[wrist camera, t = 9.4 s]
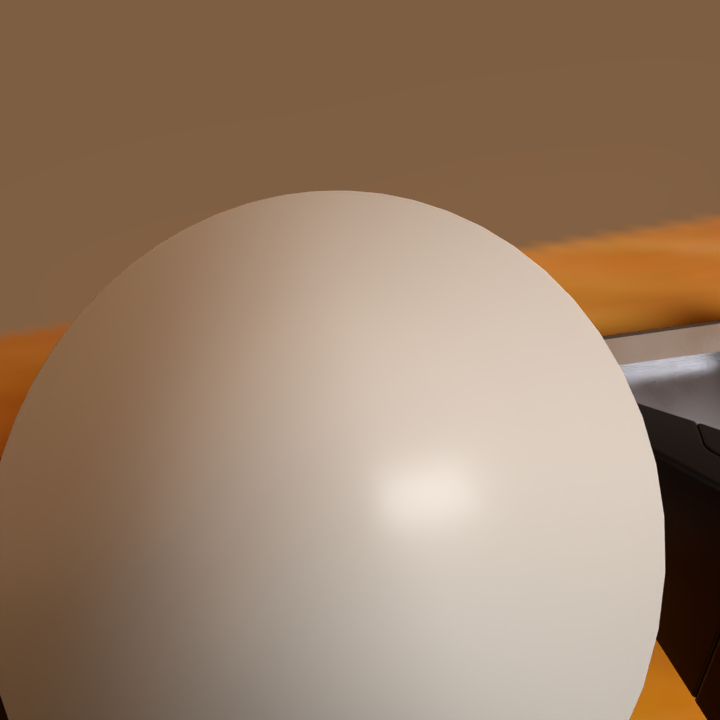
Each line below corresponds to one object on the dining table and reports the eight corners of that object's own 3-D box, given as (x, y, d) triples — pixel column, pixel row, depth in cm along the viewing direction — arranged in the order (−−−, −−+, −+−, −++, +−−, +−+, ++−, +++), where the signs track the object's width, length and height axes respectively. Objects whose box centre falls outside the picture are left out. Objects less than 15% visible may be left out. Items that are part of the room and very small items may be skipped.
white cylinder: (438, 406, 15) (544, 147, 3) (464, 546, 13) (825, 926, 2) (314, 423, 15) (43, 237, 4) (324, 561, 13) (-101, 950, 2)
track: (768, 320, 15) (904, 258, 11) (893, 563, 13) (1142, 603, 8) (275, 389, 17) (232, 357, 13) (283, 619, 14) (231, 677, 10)
